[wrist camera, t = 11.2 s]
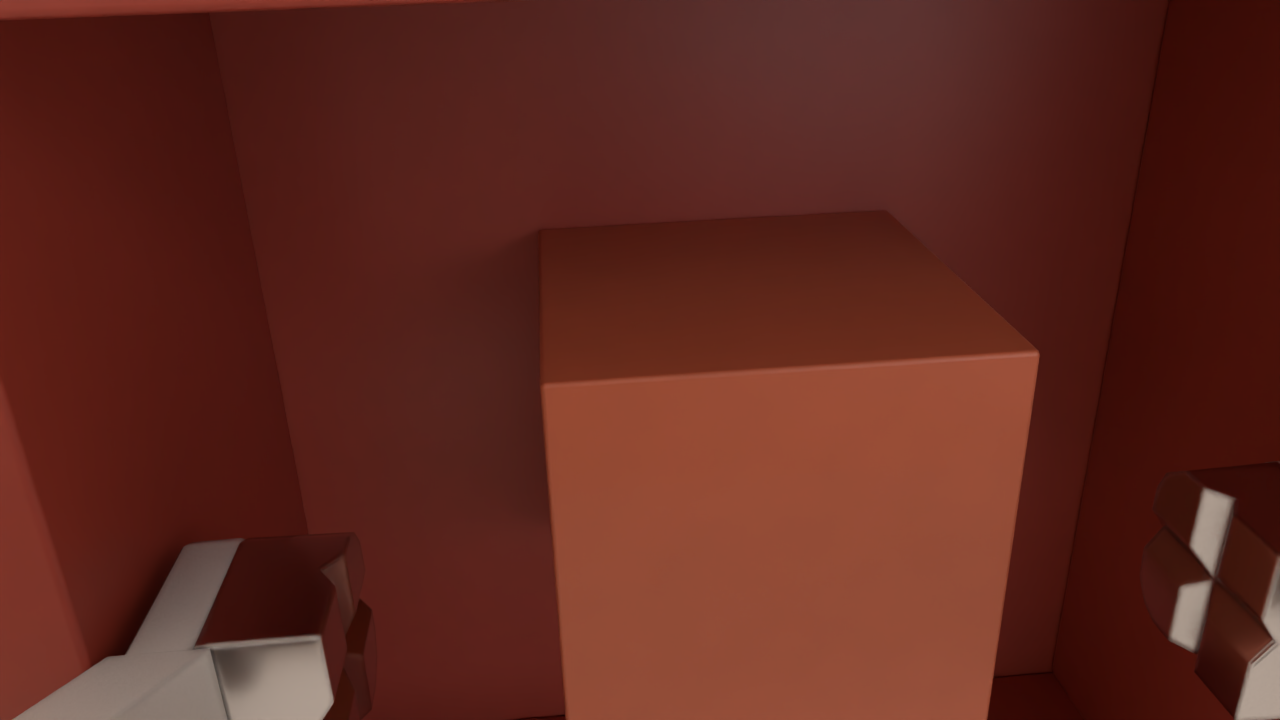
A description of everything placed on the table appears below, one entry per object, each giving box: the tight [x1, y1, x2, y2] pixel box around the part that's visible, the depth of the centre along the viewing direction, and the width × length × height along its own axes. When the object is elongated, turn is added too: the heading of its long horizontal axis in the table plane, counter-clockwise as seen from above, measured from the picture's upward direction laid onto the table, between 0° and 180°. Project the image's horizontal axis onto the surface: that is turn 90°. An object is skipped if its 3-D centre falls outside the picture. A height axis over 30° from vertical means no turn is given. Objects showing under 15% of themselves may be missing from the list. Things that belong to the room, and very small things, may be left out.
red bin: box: [0, 0, 1280, 720], centre depth 12 cm, size 13×13×7 cm
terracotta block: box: [538, 210, 1040, 720], centre depth 12 cm, size 4×4×4 cm
